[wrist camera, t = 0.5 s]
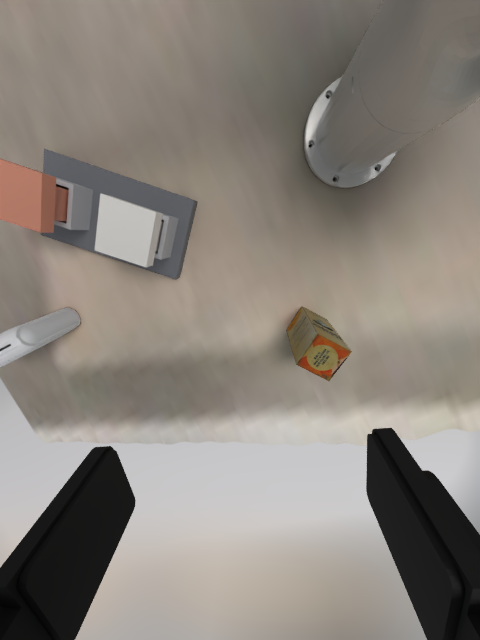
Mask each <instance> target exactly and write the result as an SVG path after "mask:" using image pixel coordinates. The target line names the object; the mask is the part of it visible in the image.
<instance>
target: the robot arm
mask: <svg viewBox="0 0 480 640" xmlns="http://www.w3.org/2000/svg"><path fill="white" fill-rule="evenodd" d="M326 96H328V97H329V99H327V98H326ZM479 97H480V0H383V1H382V2H381V4H380V6H379V8H378V10H377V12H376V14H375V16H374V18H373V20H372V21H371V23H370V25H369V27H368V29H367V31H366V33H365V35H364V37H363V38H362V40H361V42H360V44H359V46H358V48H357V50H356V52H355V54H354V55H353V57H352V59H351V61H350V63H349V65H348V67H347V69H346V70H345V72H344V74H343V76H342V77H340V78H338V79H337V80H335V81H334V82H333V83H331V84H330V85H329V86H328V87H327V88H326V89H325V90H324V91H323V92H322V93H321V94H320V96H319V97H318V99H317V100H316V102H315V103H314V105H313V107H312V109H311V111H310V113H309V116H308V119H307V122H306V126H305V131H304V151H305V156H306V159H307V162H308V165H309V166H310V168H311V170H312V171H313V173H314V174H315V175H316V176H317V177H318V178H319V179H320V180H322V181H323V182H324V183H326V184H328V185H331V186H333V187H338V188H352V187H356V186H360V185H362V184H364V183H366V182H368V181H370V180H372V179H374V178H375V177H376V176H378V175H379V174H380V173H382V172H383V171H384V169H385V168H386V167H387V166H388V165H389V164H390V163H391V161H392V160H393V158H394V157H395V155H396V153H397V151H398V150H399V149H401V148H403V147H404V146H406V145H408V144H409V143H411V142H413V141H414V140H416V139H418V138H419V137H421V136H423V135H424V134H426V133H428V132H429V131H431V130H433V129H434V128H436V127H438V126H439V125H441V124H443V123H444V122H446V121H448V120H449V119H451V118H453V117H454V116H456V115H457V114H459V113H460V112H462V111H463V110H464V109H466V108H467V107H468V106H470V105H471V104H472V103H473V102H474V101H476V100H477V99H478V98H479ZM309 144H311V145H312V147H311V148H309V147H308V145H309ZM374 168H376V169H377V170H376V171H375V170H374ZM333 178H335V179H336V180H335V182H334V181H333ZM367 495H368V499H369V502H370V504H371V507H372V509H373V511H374V514H375V516H376V518H377V521H378V523H379V526H380V528H381V530H382V533H383V535H384V538H385V540H386V542H387V545H388V547H389V550H390V552H391V554H392V557H393V559H394V561H395V564H396V566H397V569H398V571H399V573H400V576H401V578H402V581H403V583H404V585H405V588H406V590H407V592H408V595H409V597H410V600H411V602H412V604H413V607H414V609H415V611H416V614H417V616H418V619H419V621H420V623H421V626H422V628H423V630H424V633H425V635H426V638H427V640H480V535H479V533H478V532H477V531H476V529H475V528H474V526H473V525H472V524H471V522H470V521H469V520H468V519H467V517H466V516H465V514H464V513H463V512H462V510H461V509H460V508H459V506H458V505H457V504H456V502H455V501H454V499H453V498H452V497H451V495H450V494H449V493H448V492H447V490H446V489H445V487H444V486H443V485H442V483H441V482H440V481H439V479H438V478H437V477H436V476H435V475H434V474H433V473H431V472H430V471H422V470H421V468H420V467H419V466H418V464H417V463H416V461H415V460H414V458H413V457H412V456H411V454H410V453H409V451H408V450H407V448H406V447H405V445H404V444H403V443H402V441H401V440H400V438H399V437H398V435H397V434H396V433H395V431H394V430H393V429H392V428H383V429H373V430H372V434H368V436H367ZM134 507H135V497H134V495H133V492H132V490H131V487H130V484H129V482H128V479H127V477H126V474H125V472H124V469H123V467H122V464H121V462H120V459H119V457H118V454H117V452H116V451H115V450H114V449H113V448H112V447H111V446H109V447H108V446H107V447H95V448H94V449H92V450H91V452H90V453H89V454H88V455H87V457H86V458H85V459H84V461H83V462H82V463H81V465H80V466H79V467H78V468H77V470H76V471H75V472H74V474H73V475H72V476H71V477H70V479H69V480H68V481H67V483H66V484H65V485H64V486H63V488H62V489H61V490H60V492H59V493H58V494H57V496H56V497H55V498H54V499H53V501H52V502H51V503H50V504H49V506H48V507H47V508H46V510H45V511H44V512H43V513H42V515H41V516H40V517H39V519H38V520H37V521H36V523H35V524H34V525H33V526H32V528H31V529H30V530H29V532H28V533H27V534H26V535H25V537H24V538H23V539H22V541H21V542H20V543H19V545H18V546H17V547H16V548H15V550H14V551H13V552H12V553H11V555H10V556H9V558H8V559H7V560H6V561H5V562H4V564H3V565H2V567H1V568H0V640H74V639H75V638H76V636H77V634H78V632H79V630H80V627H81V625H82V623H83V621H84V619H85V616H86V614H87V612H88V610H89V608H90V605H91V603H92V601H93V599H94V596H95V594H96V592H97V590H98V588H99V585H100V583H101V581H102V579H103V577H104V574H105V572H106V570H107V568H108V566H109V563H110V561H111V559H112V557H113V554H114V552H115V550H116V548H117V546H118V543H119V541H120V539H121V537H122V534H123V533H124V530H125V528H126V526H127V523H128V521H129V519H130V517H131V514H132V513H133V510H134Z"/></svg>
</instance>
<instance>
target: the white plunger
mask: <svg viewBox="0 0 480 640" xmlns="http://www.w3.org/2000/svg"><path fill="white" fill-rule="evenodd" d="M162 215H163V213H160V212H157V211H154V210H151V209H148V208H145V207H142V206H139V205H136V204H133V203H130V202H127V201H124V200H121V199H118V198H115V197H112V196H109V195H105V194H101V193H100V202H99V212H98V221H97V231H96V241H95V251H98V252H101V253H104V254H107V255H110V256H113V257H116V258H119V259H122V260H125V261H128V262H131V263H134V264H137V265H140V266H143V267H149V266H153V262H154V257H155V252H156V251H158V247H159V242H160V237H161V232H162V227H163V222H162V221H161V220H162Z"/></svg>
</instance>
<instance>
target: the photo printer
mask: <svg viewBox="0 0 480 640" xmlns="http://www.w3.org/2000/svg"><path fill="white" fill-rule="evenodd" d="M79 324H80V316H79V315H78V313H77V312H76V311H75V310H73V309H70V308H69V307H68V308H63V309H60V310H58V311H55V312H53V313H50V314H48V315H45V316H42V317H40V318H37V319H35V320H32V321H29V322H27V323H24V324H21V325H19V326H16V327H13V328H11V329H9V330H7V331H5V332H3V333H1V334H0V367H2V366H4V365H7V364H9V363H11V362H13V361H15V360H17V359H18V358H20V357H22V356H24V355H26V354H28V353H30V352H32V351H34V350H36V349H38V348H40V347H42V346H44V345H46V344H48V343H50V342H52V341H54V340H55V339H57V338H59V337H61V336H63V335H64V334H66V333H68V332H70V331H71V330H73V329H74V328H76V327H77V326H78V325H79Z"/></svg>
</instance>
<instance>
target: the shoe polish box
mask: <svg viewBox="0 0 480 640" xmlns="http://www.w3.org/2000/svg"><path fill="white" fill-rule="evenodd" d="M287 334H288V337H289V341H290V344H291V348H292V351H293V355H294V358H295V362H296V365H298V366H300V367H302V368H304V369H306V370H308V371H310V372H312V373H314V374H316V375H318V376H320V377H322V378H324V379H326V380H328V381H330V379H331V378H332V377H333V375H334V374H335V373H336V372H337V370H338V369H339V368H340V366H341V365H342V364H343V363H344V361H345V360H346V359H347V357H348V356H349V355H350V353H351V352H352V351H351V350H350V348H349V347H348V346H347V344H346V343H345V342H344V341H343V339H342V338H341V337H340V336H339V334H338V333H337V332H336V331H335V329H334V328H333V327H332V325H331V324H330V323H329V322H328V320H327V319H325V318H323V317H321V316H319V315H317V314H315V313H314V312H312V311H310V310H308V309H306V308H304V307H301V308H300V310H299V311H298V313H297V315H296V316H295V318H294V319H293V321H292V322H291V324H290V325H289V327H288V329H287Z"/></svg>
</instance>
